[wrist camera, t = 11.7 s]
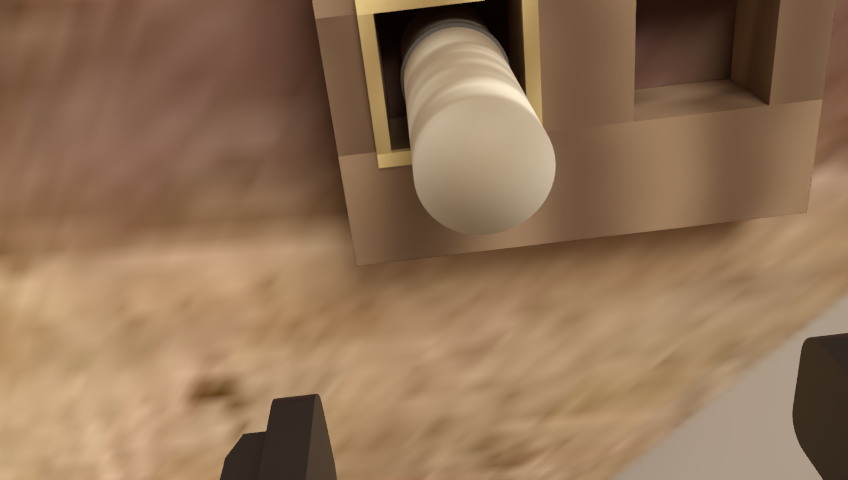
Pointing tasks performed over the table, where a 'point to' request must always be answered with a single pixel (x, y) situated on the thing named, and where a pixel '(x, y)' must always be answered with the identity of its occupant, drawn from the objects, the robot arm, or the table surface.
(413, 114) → the birch peg
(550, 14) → the walnut board
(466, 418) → the table surface
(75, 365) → the table surface
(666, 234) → the table surface
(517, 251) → the table surface
